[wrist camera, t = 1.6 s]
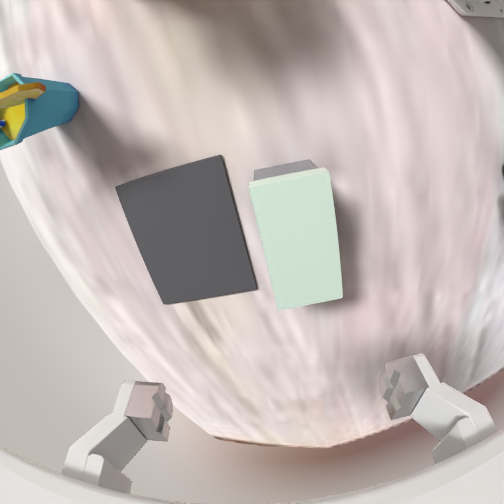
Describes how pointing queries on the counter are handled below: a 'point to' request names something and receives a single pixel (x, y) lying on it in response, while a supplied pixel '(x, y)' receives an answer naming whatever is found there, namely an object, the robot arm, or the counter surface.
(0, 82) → the cup
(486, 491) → the robot arm
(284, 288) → the mint green block
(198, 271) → the mat
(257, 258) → the counter surface
